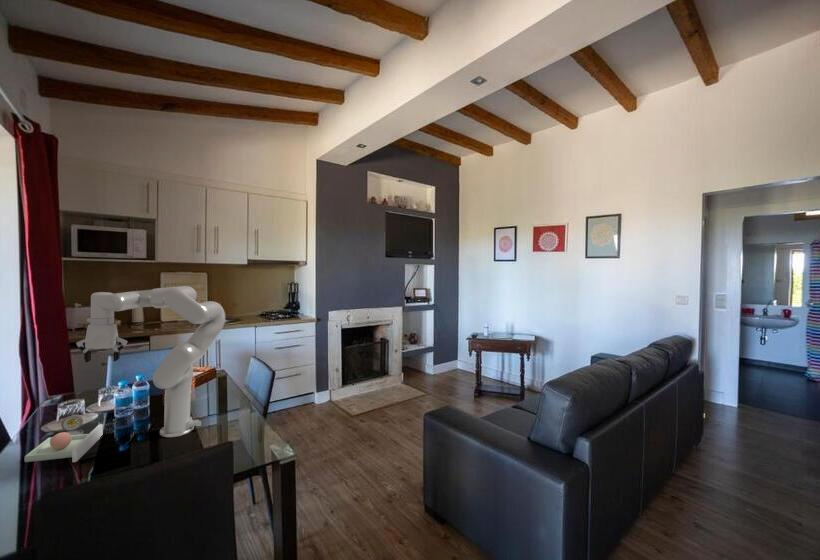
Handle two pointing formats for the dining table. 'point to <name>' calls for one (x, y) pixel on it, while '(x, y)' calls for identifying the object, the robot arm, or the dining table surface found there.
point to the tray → (53, 450)
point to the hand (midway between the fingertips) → (102, 360)
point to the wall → (87, 443)
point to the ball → (60, 440)
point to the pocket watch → (72, 421)
